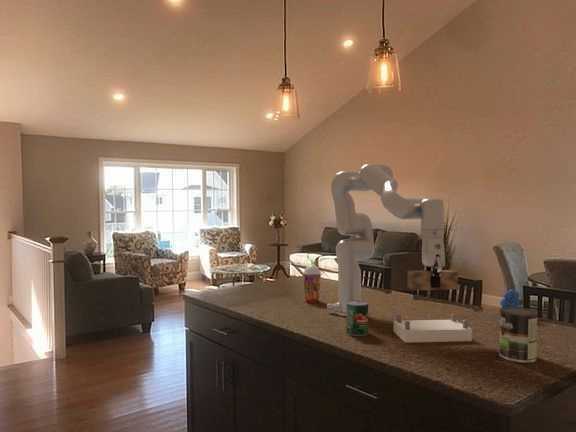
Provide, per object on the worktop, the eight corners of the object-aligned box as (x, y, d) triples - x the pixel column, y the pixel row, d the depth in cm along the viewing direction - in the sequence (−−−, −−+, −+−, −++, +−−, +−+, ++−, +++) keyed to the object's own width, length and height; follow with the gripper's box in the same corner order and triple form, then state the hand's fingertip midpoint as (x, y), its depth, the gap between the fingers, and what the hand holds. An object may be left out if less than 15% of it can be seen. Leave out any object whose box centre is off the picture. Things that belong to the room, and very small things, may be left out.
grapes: (508, 314, 192) (509, 286, 191) (524, 318, 186) (524, 288, 186) (491, 318, 186) (491, 288, 185) (506, 322, 180) (506, 291, 180)
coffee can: (511, 363, 134) (511, 315, 134) (492, 352, 144) (493, 307, 144) (544, 362, 135) (545, 314, 134) (523, 351, 145) (524, 306, 145)
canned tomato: (363, 337, 160) (363, 305, 160) (342, 333, 164) (342, 303, 164) (371, 331, 167) (371, 301, 167) (351, 328, 171) (351, 299, 171)
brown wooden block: (451, 286, 164) (451, 270, 164) (457, 289, 159) (457, 272, 159) (407, 287, 162) (407, 270, 162) (412, 290, 157) (412, 272, 157)
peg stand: (405, 342, 154) (405, 323, 154) (393, 331, 167) (393, 313, 167) (471, 341, 156) (472, 321, 155) (455, 330, 169) (455, 312, 168)
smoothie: (300, 302, 217) (300, 259, 216) (306, 298, 224) (306, 257, 224) (317, 303, 213) (317, 260, 213) (323, 300, 221) (323, 258, 221)
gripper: (453, 235, 152) (453, 290, 152) (433, 232, 169) (433, 281, 169) (430, 235, 151) (430, 290, 152) (413, 232, 168) (413, 282, 169)
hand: (432, 285), depth 161 cm, fingers closed on brown wooden block, 5 cm apart
